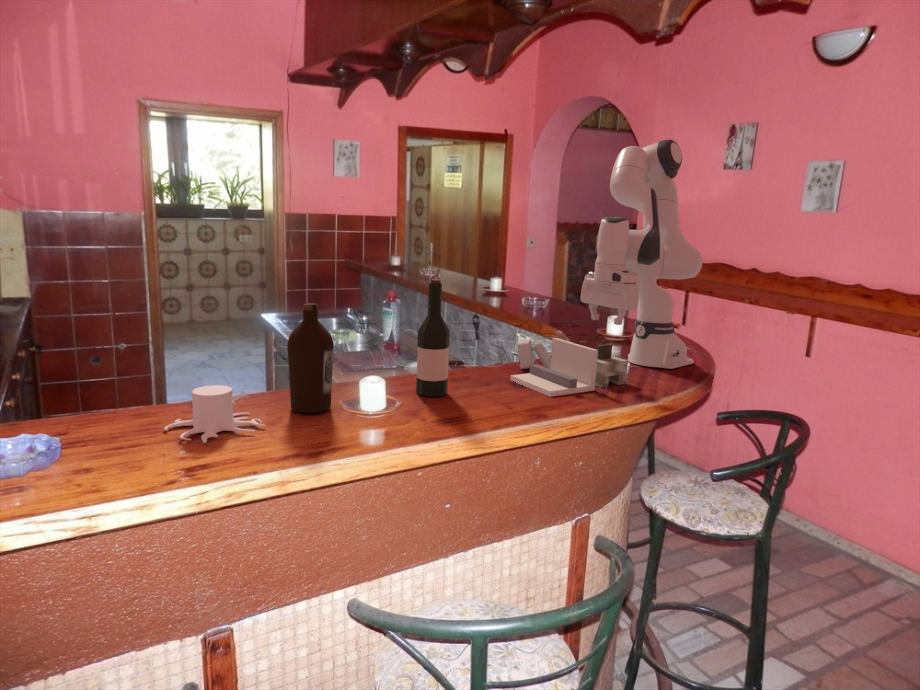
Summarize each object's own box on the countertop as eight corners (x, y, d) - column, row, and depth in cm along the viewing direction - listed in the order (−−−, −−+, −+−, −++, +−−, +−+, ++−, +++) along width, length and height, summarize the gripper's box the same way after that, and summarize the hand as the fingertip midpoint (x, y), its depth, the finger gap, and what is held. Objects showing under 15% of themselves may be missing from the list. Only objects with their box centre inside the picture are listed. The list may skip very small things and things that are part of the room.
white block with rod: (555, 372, 197) (551, 340, 195) (521, 375, 199) (517, 344, 198) (556, 366, 205) (552, 335, 203) (524, 369, 207) (520, 339, 205)
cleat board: (553, 375, 196) (556, 337, 194) (594, 390, 181) (598, 350, 179) (510, 380, 188) (512, 341, 186) (549, 396, 173) (552, 354, 171)
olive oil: (282, 413, 150) (281, 306, 145) (294, 399, 161) (293, 299, 156) (328, 415, 150) (328, 308, 145) (337, 401, 161) (337, 301, 156)
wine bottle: (429, 386, 178) (432, 277, 172) (453, 392, 173) (458, 280, 167) (409, 392, 171) (412, 279, 165) (434, 398, 167) (438, 282, 161)
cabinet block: (601, 375, 198) (605, 340, 196) (625, 383, 190) (629, 347, 188) (576, 378, 193) (579, 342, 191) (600, 387, 185) (603, 349, 183)
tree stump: (273, 431, 139) (273, 395, 138) (178, 447, 128) (176, 408, 126) (243, 406, 155) (242, 374, 154) (155, 419, 144) (153, 384, 142)
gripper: (577, 271, 192) (574, 317, 195) (627, 277, 175) (623, 327, 177) (593, 271, 195) (589, 316, 198) (644, 277, 178) (639, 327, 181)
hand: (606, 322), depth 187 cm, fingers open, 8 cm apart
